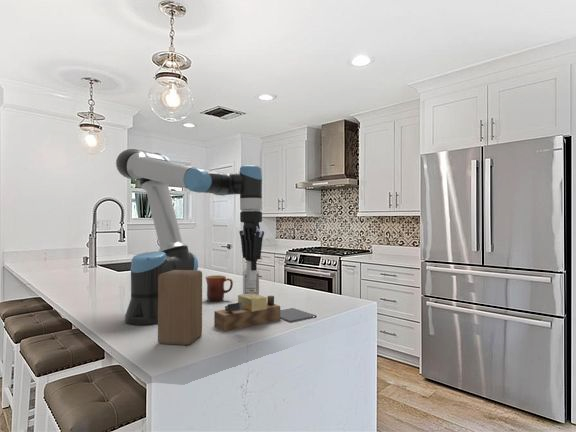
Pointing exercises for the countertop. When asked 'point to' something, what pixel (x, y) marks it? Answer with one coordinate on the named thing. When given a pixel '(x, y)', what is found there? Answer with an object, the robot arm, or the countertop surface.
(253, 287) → the bath foam
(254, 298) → the pale yellow block
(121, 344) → the countertop surface
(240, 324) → the plane body
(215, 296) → the mug
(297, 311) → the mat
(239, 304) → the lever
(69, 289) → the countertop surface
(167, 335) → the block
